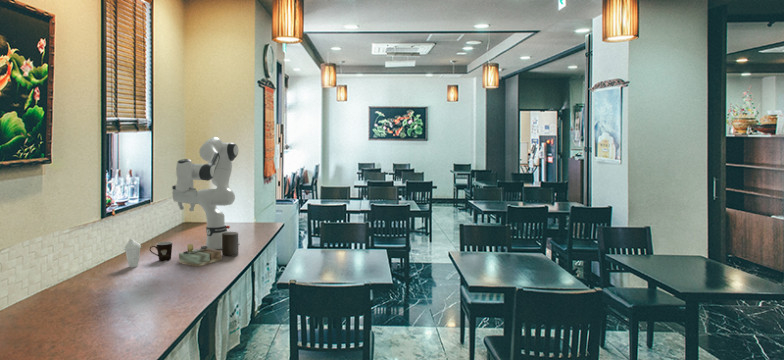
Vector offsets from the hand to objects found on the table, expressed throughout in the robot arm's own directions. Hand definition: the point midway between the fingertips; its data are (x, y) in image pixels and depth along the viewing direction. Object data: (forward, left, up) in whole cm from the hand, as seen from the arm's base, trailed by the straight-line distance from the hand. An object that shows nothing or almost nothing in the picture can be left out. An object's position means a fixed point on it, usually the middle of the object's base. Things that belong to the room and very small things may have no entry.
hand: (186, 210), depth 274 cm
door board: (-2, +8, -30) cm, 31 cm away
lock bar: (-2, +6, -24) cm, 25 cm away
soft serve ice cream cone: (+25, -14, -30) cm, 42 cm away
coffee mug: (+8, -14, -30) cm, 34 cm away
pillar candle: (-22, +10, -30) cm, 39 cm away
